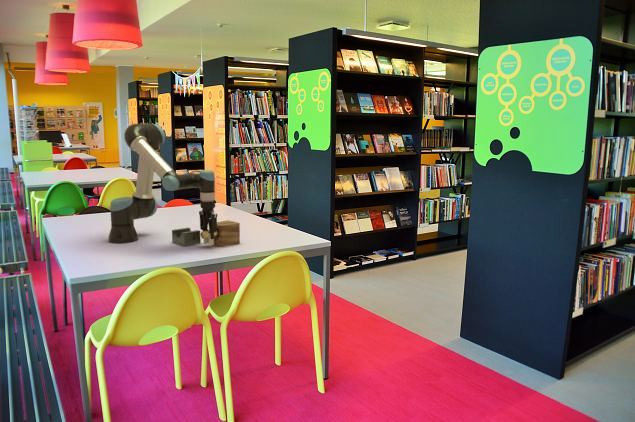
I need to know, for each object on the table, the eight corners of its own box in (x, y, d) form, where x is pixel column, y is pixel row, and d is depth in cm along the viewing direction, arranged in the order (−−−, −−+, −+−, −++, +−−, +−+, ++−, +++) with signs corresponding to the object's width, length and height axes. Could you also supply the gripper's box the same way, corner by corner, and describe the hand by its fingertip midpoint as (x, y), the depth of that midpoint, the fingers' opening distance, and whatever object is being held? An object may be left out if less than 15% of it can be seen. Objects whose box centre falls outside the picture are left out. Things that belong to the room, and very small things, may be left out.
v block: (172, 242, 271) (171, 230, 270) (188, 239, 278) (187, 227, 277) (184, 246, 263) (184, 233, 262) (200, 243, 270) (200, 230, 269)
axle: (205, 239, 257) (205, 231, 257) (200, 238, 260) (200, 230, 259) (233, 234, 270) (233, 227, 270) (228, 233, 273) (228, 226, 272)
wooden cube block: (210, 244, 269) (210, 223, 267) (228, 240, 277) (228, 220, 275) (221, 247, 262) (221, 225, 260) (239, 243, 271) (239, 222, 269)
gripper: (223, 201, 255) (224, 245, 259) (204, 197, 266) (205, 240, 270) (211, 202, 249) (212, 248, 253) (192, 199, 261) (193, 242, 265)
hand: (208, 244), depth 262 cm, fingers closed on axle, 4 cm apart
